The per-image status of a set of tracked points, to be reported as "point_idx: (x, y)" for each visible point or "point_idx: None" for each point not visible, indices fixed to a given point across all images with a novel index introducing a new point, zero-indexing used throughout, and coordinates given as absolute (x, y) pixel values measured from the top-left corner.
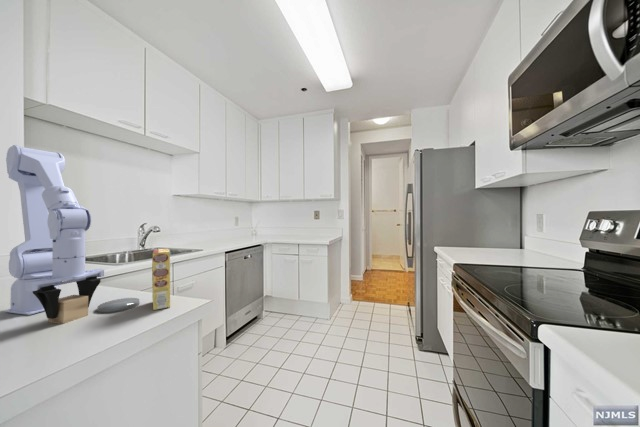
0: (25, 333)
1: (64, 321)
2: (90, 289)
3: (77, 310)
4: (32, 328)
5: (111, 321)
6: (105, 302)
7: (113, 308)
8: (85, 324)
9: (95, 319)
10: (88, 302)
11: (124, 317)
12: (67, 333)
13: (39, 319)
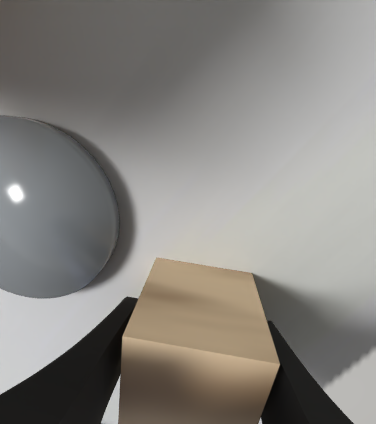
0: (344, 321)
1: (250, 277)
2: (74, 387)
3: (198, 290)
4: (295, 340)
5: (217, 41)
6: (35, 296)
7: (90, 171)
8: (260, 162)
9: (196, 174)
10: (119, 314)
11: (152, 11)
12: (372, 141)
13: None
